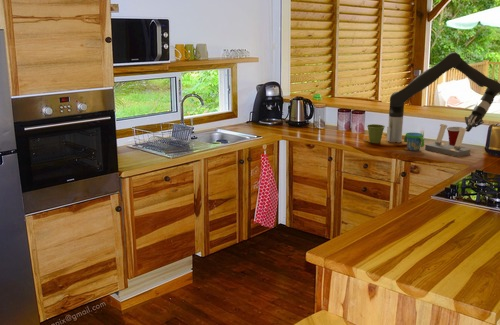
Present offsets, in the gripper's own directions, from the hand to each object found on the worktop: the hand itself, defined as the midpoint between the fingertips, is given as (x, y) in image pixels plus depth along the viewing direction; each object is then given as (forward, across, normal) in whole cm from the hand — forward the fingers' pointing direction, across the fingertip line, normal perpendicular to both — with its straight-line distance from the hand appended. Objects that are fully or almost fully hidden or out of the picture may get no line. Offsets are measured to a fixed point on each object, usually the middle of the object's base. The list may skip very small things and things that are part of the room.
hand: (467, 130), depth 340 cm
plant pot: (+28, -52, -8) cm, 59 cm away
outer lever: (+12, 0, +1) cm, 12 cm away
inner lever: (+12, -14, +1) cm, 19 cm away
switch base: (+15, -7, +4) cm, 17 cm away
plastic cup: (+3, -14, +16) cm, 22 cm away
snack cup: (+25, -23, -5) cm, 34 cm away
